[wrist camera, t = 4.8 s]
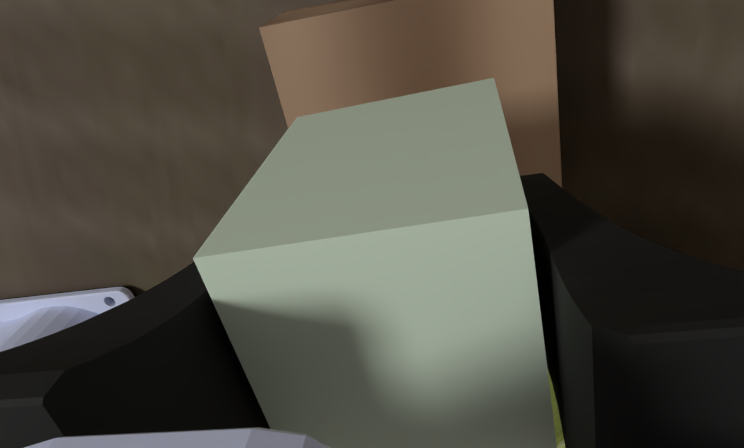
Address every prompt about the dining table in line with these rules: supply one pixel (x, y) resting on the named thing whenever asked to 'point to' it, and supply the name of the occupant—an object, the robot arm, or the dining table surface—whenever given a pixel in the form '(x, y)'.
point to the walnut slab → (424, 61)
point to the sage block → (389, 278)
